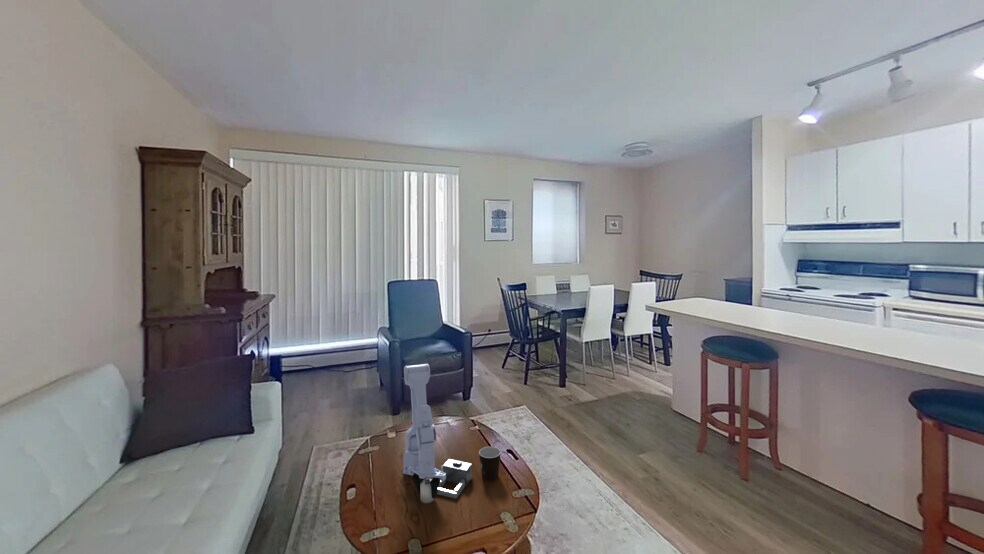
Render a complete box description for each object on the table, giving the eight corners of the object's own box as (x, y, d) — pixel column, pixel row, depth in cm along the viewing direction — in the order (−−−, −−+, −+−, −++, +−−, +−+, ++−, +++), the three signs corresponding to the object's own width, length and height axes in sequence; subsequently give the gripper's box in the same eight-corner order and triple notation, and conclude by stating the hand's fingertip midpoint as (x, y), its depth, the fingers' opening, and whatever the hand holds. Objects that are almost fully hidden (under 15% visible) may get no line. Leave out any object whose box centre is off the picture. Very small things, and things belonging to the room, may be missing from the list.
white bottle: (417, 501, 140) (417, 482, 139) (425, 493, 145) (424, 474, 144) (430, 504, 138) (429, 485, 138) (437, 496, 143) (436, 477, 142)
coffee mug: (498, 484, 150) (498, 459, 149) (477, 481, 152) (476, 456, 151) (503, 467, 161) (503, 443, 160) (483, 465, 163) (483, 442, 162)
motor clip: (471, 478, 154) (471, 461, 153) (456, 499, 141) (456, 480, 141) (443, 471, 158) (443, 455, 158) (426, 491, 146) (426, 473, 145)
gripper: (403, 460, 139) (404, 497, 140) (439, 468, 134) (439, 506, 135) (413, 451, 146) (414, 485, 147) (448, 458, 141) (449, 494, 142)
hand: (427, 494), depth 141 cm, fingers closed on white bottle, 5 cm apart
